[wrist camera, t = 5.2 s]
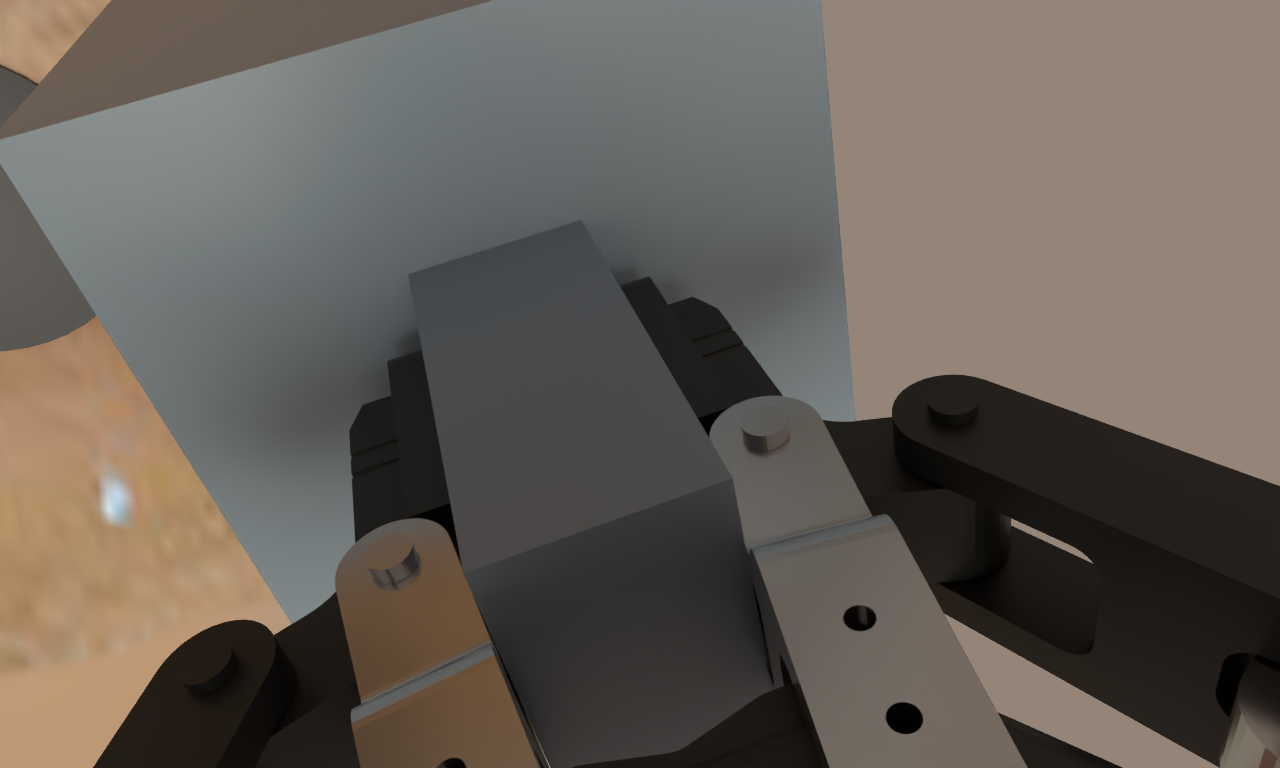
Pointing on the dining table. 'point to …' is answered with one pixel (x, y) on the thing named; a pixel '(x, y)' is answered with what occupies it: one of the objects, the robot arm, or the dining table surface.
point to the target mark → (30, 258)
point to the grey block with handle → (467, 295)
